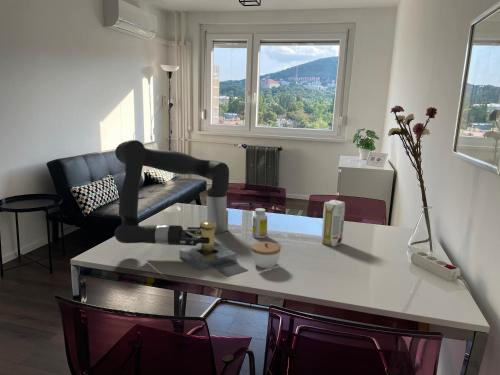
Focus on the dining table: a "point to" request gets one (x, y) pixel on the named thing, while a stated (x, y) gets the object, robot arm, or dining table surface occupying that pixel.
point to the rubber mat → (230, 269)
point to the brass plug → (207, 231)
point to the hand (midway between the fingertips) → (211, 236)
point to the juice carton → (333, 222)
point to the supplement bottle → (259, 223)
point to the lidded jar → (265, 254)
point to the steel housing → (209, 261)
